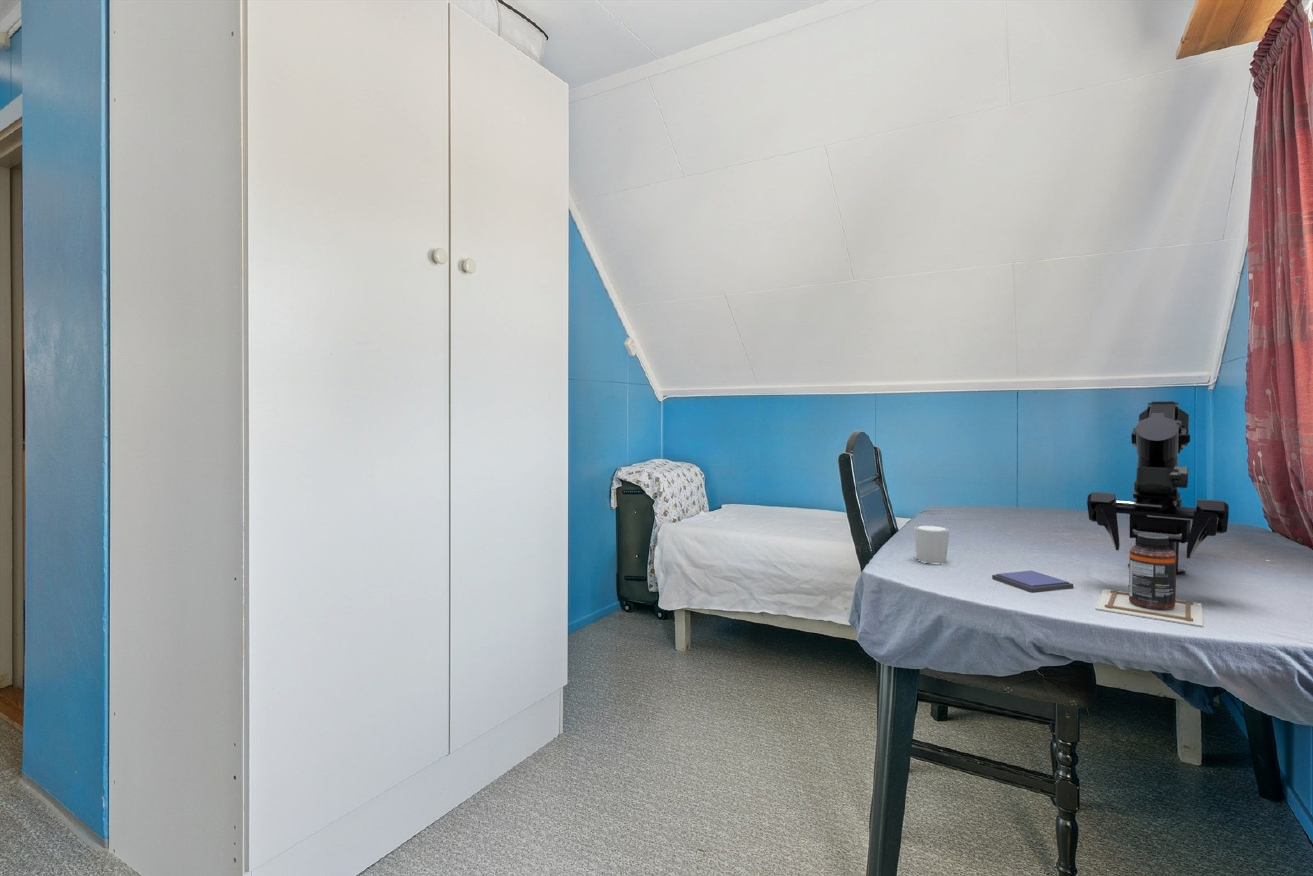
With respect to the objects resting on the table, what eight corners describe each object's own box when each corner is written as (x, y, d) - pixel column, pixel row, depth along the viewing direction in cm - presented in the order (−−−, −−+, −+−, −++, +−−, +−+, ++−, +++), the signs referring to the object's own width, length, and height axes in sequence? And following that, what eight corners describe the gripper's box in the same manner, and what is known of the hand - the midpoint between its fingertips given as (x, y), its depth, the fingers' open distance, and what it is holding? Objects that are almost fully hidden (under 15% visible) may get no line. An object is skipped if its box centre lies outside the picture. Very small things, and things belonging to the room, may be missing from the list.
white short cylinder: (907, 557, 136) (907, 525, 135) (938, 556, 136) (938, 524, 136) (923, 565, 129) (924, 531, 128) (956, 564, 129) (956, 530, 129)
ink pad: (1031, 574, 121) (1031, 569, 121) (1073, 588, 112) (1073, 582, 112) (992, 578, 119) (992, 573, 119) (1031, 592, 110) (1031, 586, 110)
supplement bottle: (1149, 598, 106) (1151, 530, 105) (1185, 609, 100) (1187, 538, 99) (1118, 600, 104) (1121, 532, 104) (1153, 612, 99) (1156, 539, 98)
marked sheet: (1103, 590, 111) (1103, 587, 111) (1201, 604, 103) (1202, 601, 103) (1095, 609, 101) (1095, 606, 101) (1203, 627, 93) (1203, 623, 93)
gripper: (1089, 447, 113) (1080, 518, 106) (1230, 451, 101) (1231, 531, 94) (1093, 485, 120) (1084, 555, 112) (1226, 493, 108) (1226, 572, 100)
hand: (1151, 552), depth 104 cm, fingers open, 9 cm apart
